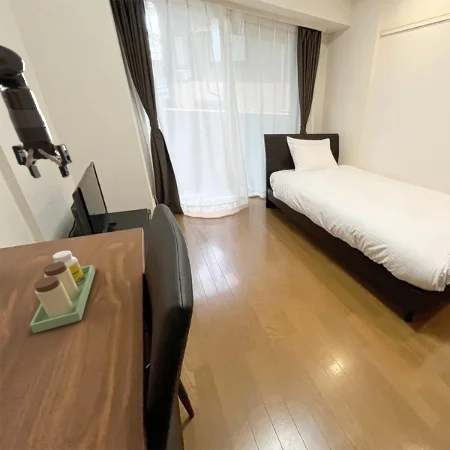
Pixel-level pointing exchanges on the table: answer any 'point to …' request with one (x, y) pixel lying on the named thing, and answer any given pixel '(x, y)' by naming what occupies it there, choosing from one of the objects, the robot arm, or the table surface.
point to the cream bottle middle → (63, 277)
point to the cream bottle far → (53, 297)
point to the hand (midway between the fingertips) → (52, 177)
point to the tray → (41, 317)
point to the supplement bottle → (70, 265)
